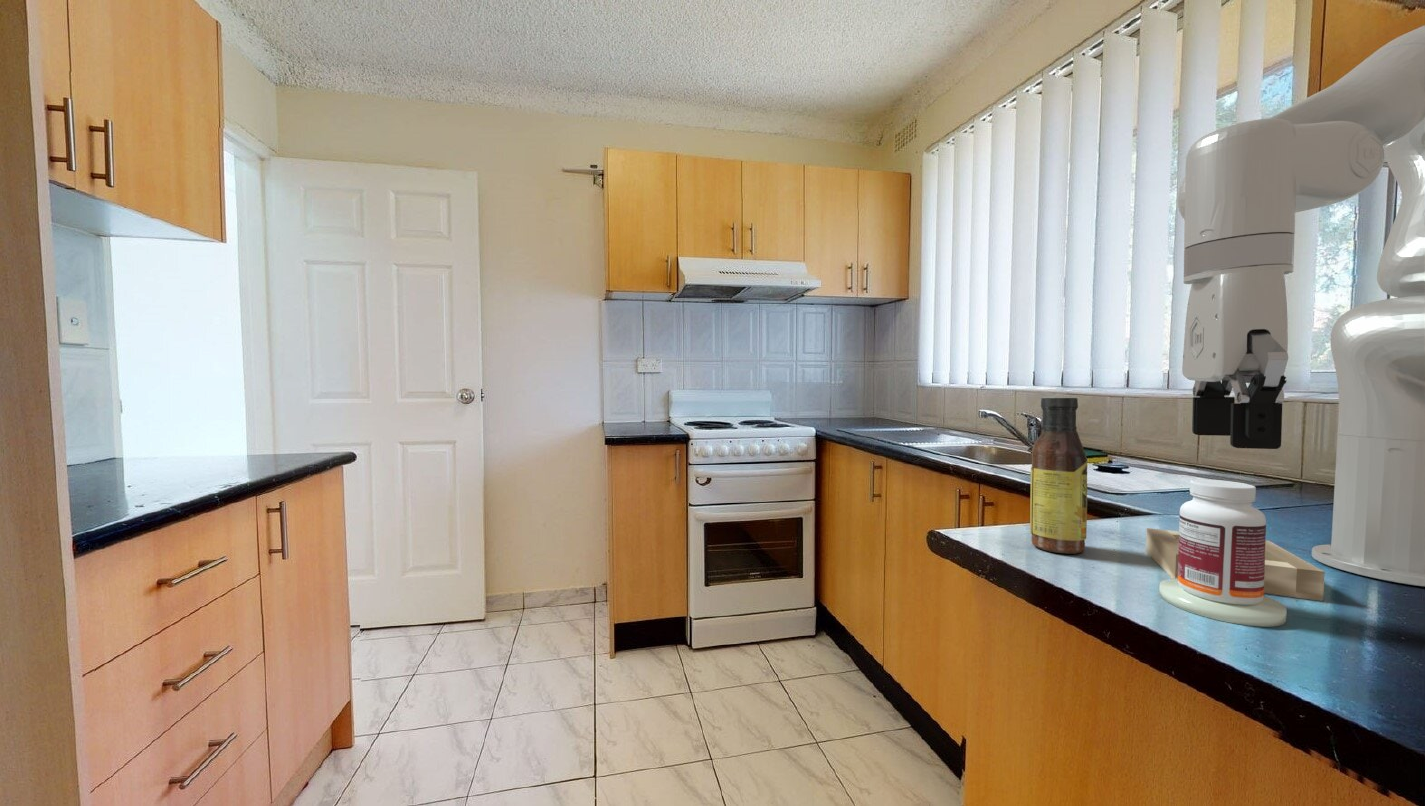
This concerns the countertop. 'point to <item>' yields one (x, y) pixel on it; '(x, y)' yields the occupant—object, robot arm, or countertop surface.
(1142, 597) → the countertop surface
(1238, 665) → the countertop surface
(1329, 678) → the countertop surface
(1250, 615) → the saucer
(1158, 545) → the wooden square frame
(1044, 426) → the sauce bottle
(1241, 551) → the pill bottle
